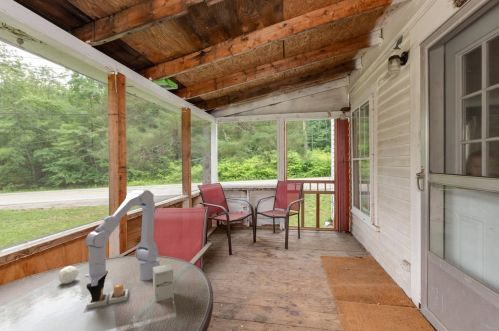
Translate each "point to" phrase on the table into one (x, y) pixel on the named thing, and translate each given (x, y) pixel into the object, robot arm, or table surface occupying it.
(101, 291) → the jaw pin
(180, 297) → the table surface
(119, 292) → the jaw pin
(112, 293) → the housing
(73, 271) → the ball
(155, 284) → the supplement box
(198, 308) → the table surface
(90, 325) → the table surface
